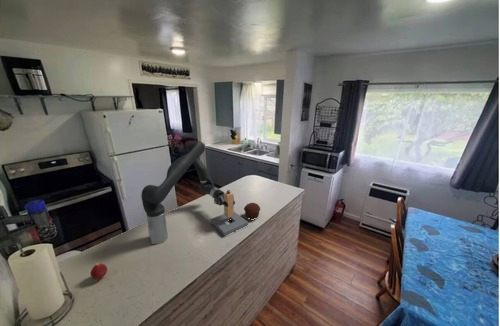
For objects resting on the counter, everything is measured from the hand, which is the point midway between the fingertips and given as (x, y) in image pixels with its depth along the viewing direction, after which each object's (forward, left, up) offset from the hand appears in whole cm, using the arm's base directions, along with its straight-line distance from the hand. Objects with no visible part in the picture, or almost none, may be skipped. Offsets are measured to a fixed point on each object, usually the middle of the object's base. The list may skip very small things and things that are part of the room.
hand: (231, 204), depth 120 cm
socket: (0, +3, -16) cm, 16 cm away
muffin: (+18, +1, -16) cm, 24 cm away
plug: (0, +3, -9) cm, 10 cm away
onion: (-68, +4, -16) cm, 70 cm away
